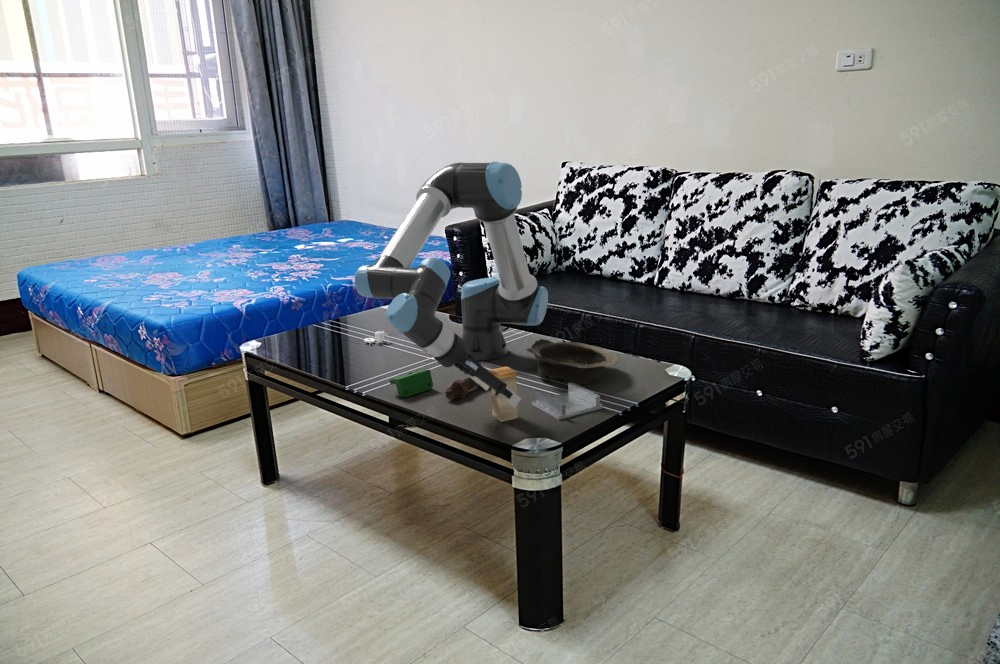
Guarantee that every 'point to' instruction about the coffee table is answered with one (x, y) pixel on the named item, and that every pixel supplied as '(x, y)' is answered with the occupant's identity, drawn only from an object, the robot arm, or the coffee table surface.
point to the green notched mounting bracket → (413, 383)
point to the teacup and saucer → (377, 337)
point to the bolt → (460, 388)
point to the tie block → (499, 405)
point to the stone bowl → (571, 361)
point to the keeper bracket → (568, 402)
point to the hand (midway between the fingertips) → (503, 394)
